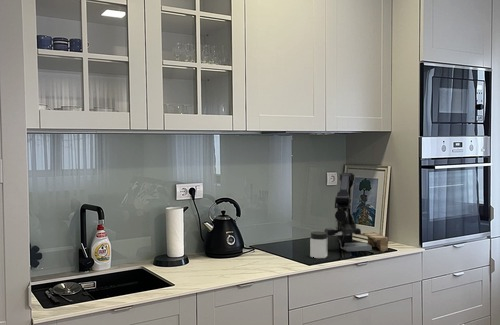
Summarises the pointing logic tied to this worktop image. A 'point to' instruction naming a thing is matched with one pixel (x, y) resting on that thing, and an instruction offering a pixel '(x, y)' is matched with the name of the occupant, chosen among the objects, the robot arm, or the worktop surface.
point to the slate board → (357, 247)
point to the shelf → (377, 240)
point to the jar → (318, 245)
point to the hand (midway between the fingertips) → (342, 247)
